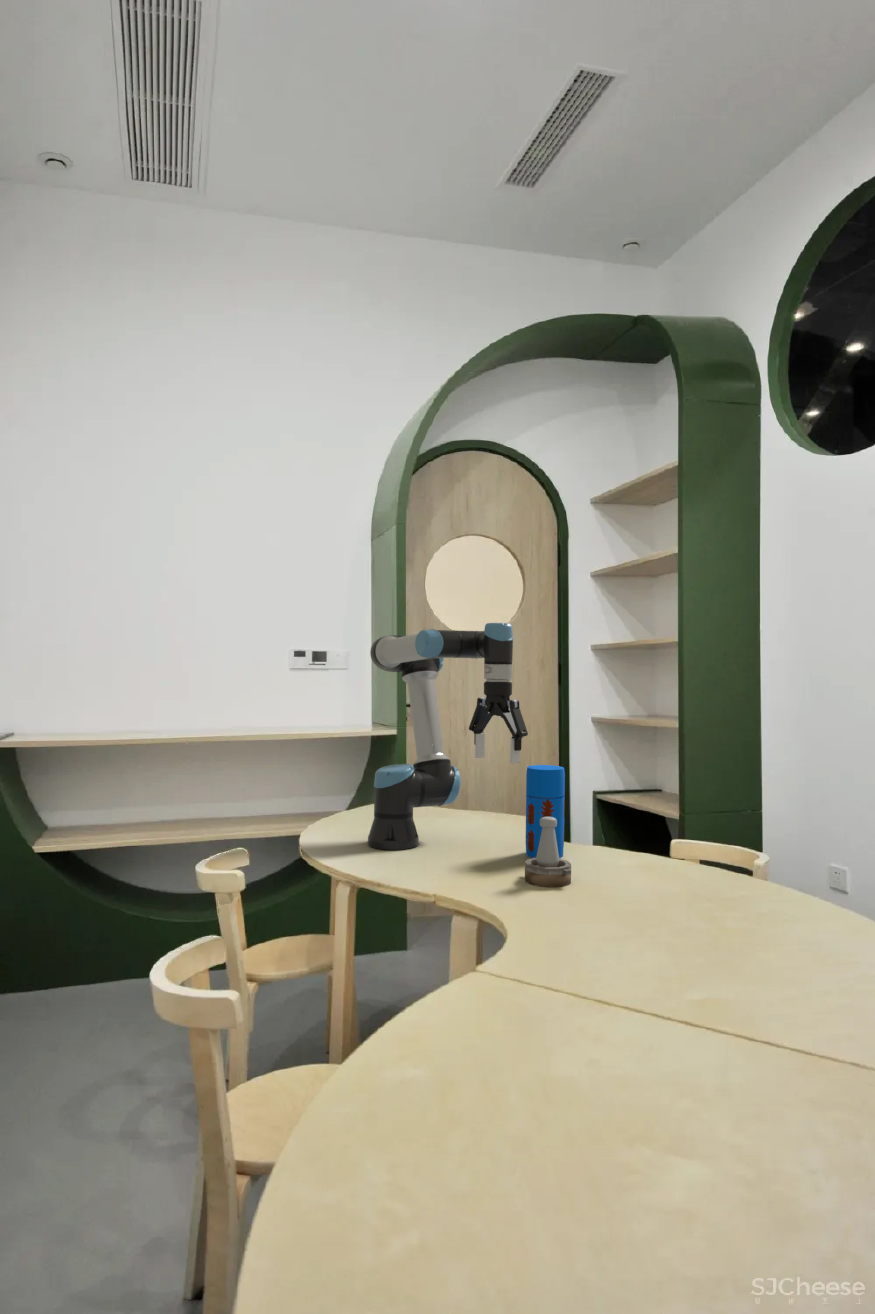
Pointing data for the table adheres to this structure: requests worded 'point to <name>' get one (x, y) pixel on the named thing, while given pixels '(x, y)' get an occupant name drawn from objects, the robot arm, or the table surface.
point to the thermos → (544, 804)
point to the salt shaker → (548, 844)
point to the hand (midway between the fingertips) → (497, 760)
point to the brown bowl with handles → (548, 874)
